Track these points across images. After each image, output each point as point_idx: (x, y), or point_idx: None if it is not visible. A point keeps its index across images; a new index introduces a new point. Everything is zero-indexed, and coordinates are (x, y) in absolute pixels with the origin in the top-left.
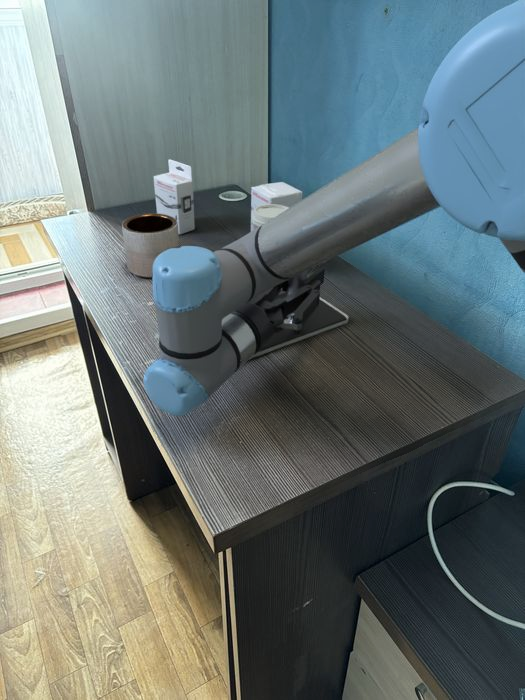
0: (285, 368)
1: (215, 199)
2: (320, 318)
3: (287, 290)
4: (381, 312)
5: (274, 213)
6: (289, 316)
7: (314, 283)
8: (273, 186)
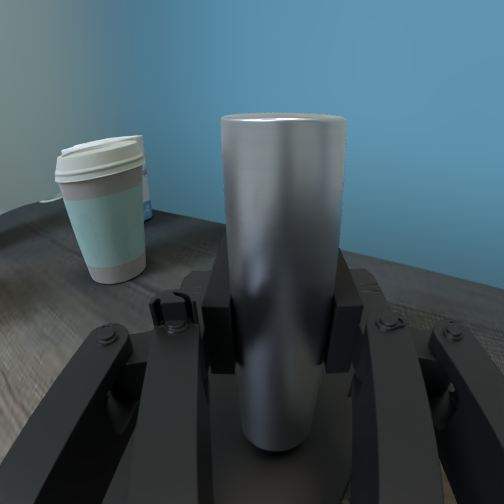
0: None
1: (34, 204)
2: (340, 385)
3: (235, 363)
4: (404, 296)
5: (99, 150)
6: (269, 447)
7: (363, 289)
8: (95, 141)
